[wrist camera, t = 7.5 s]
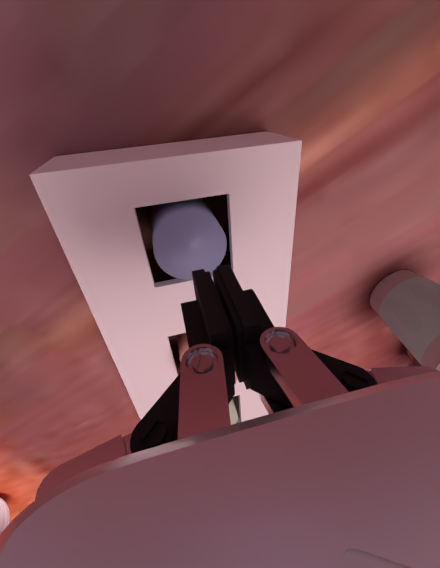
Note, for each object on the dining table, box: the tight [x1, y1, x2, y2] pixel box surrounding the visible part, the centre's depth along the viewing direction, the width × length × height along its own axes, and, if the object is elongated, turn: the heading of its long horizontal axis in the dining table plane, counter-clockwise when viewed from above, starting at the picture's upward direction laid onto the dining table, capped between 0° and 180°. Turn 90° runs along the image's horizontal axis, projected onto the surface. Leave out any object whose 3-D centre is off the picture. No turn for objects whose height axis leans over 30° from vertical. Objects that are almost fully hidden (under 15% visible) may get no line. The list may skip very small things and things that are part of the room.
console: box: [29, 131, 302, 423], centre depth 25 cm, size 30×14×5 cm, turn 5°
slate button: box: [150, 198, 227, 280], centre depth 18 cm, size 4×4×5 cm
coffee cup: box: [370, 270, 440, 371], centre depth 27 cm, size 9×8×12 cm
